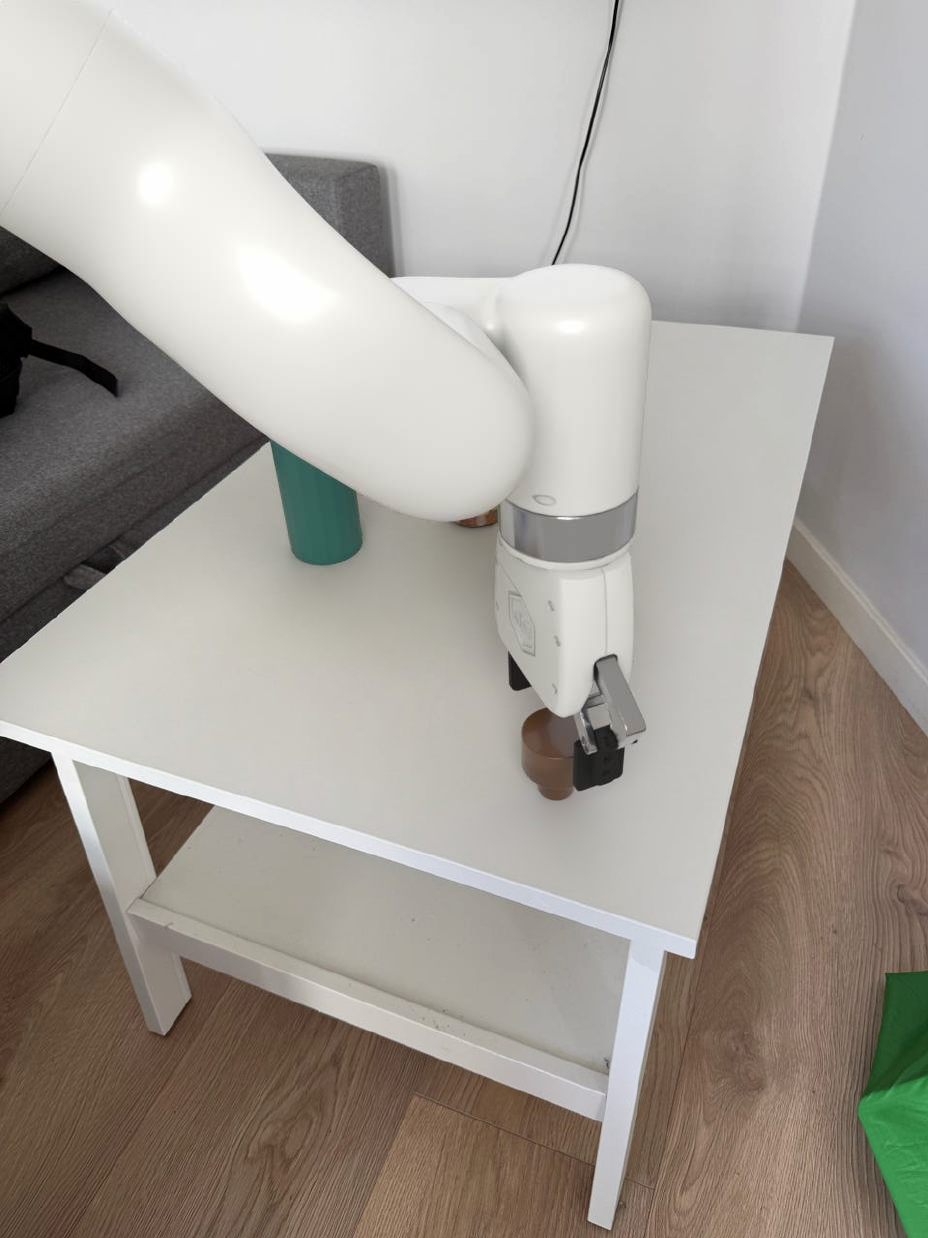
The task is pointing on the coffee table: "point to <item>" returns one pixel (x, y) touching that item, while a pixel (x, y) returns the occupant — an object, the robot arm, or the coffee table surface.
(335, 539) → the bottle
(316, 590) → the coffee table surface
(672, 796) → the coffee table surface
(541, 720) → the stopper
